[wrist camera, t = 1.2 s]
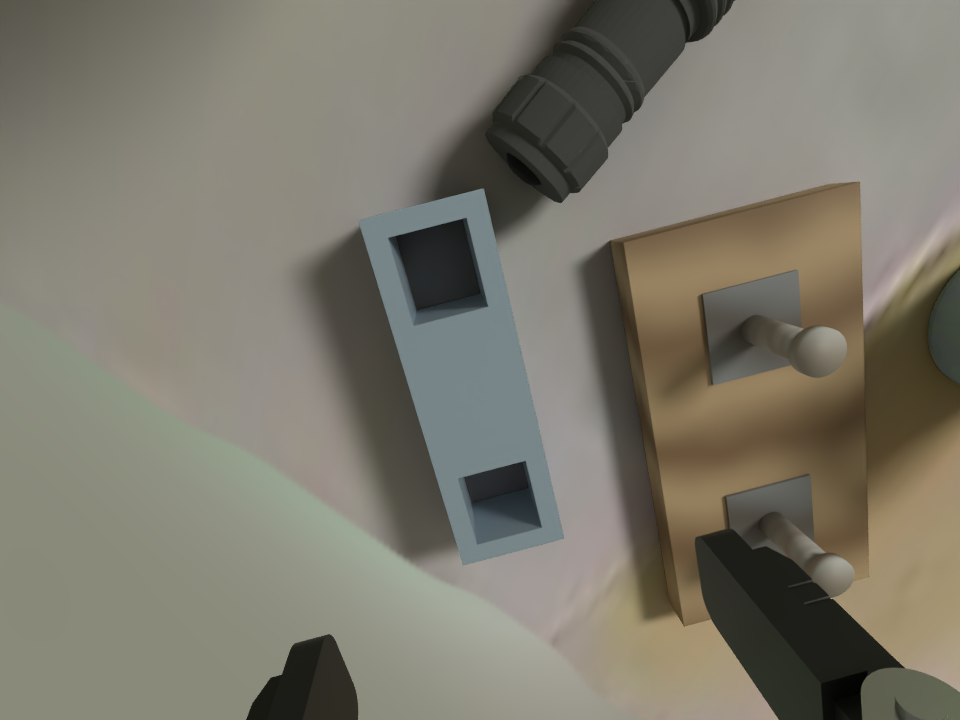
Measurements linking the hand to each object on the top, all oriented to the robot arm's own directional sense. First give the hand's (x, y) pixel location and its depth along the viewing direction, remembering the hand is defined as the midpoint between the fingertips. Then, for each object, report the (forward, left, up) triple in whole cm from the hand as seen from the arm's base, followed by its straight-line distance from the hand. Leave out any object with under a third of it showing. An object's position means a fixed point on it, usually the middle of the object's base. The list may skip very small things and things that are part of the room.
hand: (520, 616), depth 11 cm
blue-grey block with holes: (0, 0, -18) cm, 18 cm away
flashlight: (-14, +11, -18) cm, 25 cm away
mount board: (+7, +15, -18) cm, 24 cm away
